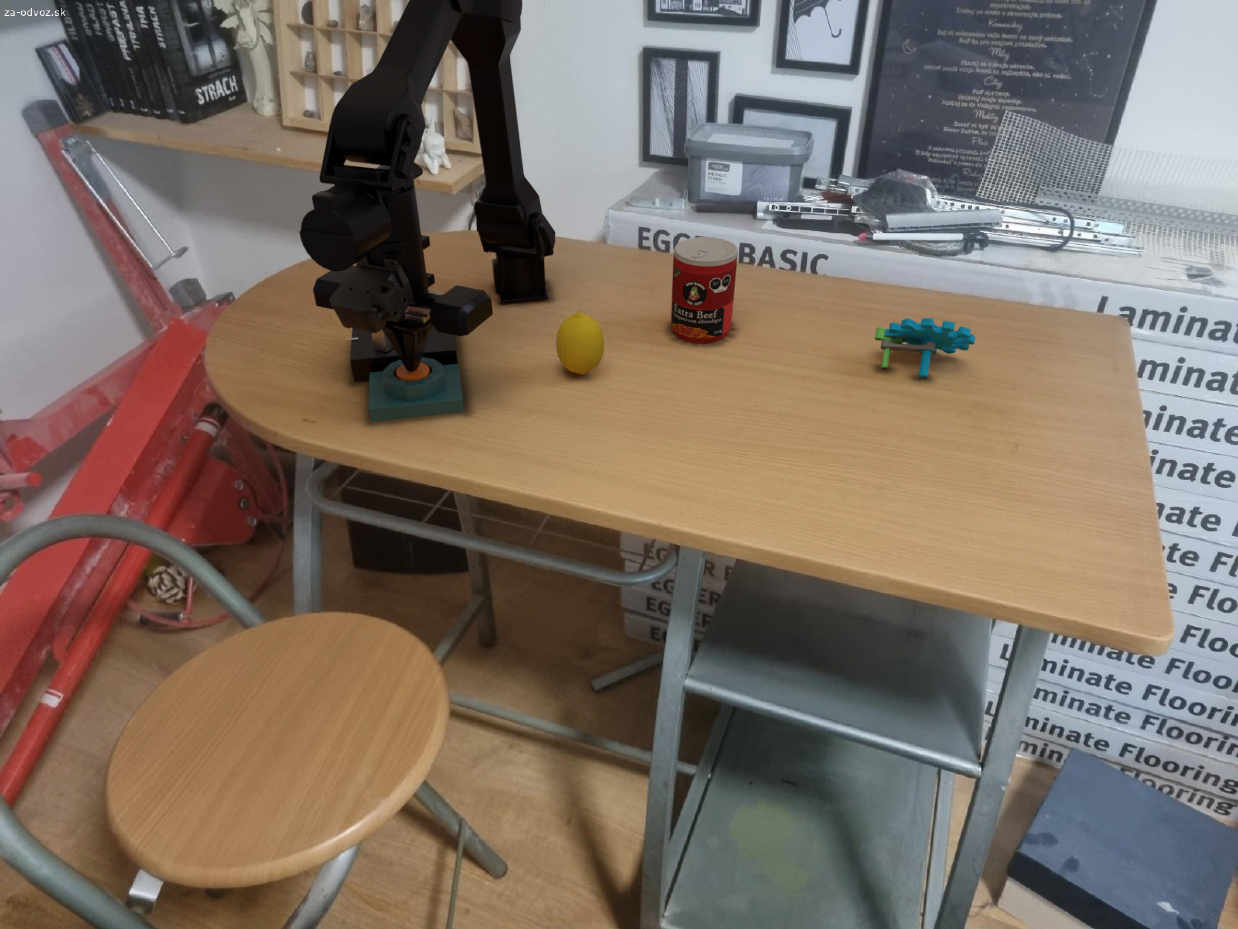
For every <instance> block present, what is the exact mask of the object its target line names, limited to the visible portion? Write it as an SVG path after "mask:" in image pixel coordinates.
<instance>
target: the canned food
mask: <svg viewBox="0 0 1238 929" xmlns="http://www.w3.org/2000/svg"><path fill="white" fill-rule="evenodd" d="M673 249H674V250H673V260H672V280H671V281H672V282H671V309H670V310H671V311H670V327H671V331H672V333H673V335H674V336H676V337H677V338H678V339H680V340H682V341H684V342H688V343H691V344H692V343H693V344H711V343H716V342H718V341H722V339H724V338H726V337H727V336H728V335H729V333H730V330H731V328H732V322H733V320H732V319H733V311H734V300H735V289H736V278H737V267H738V255H739V254H738V247H737V245H735V244H734V243H733V242H731V241H728V240H726V239H723V238H718V237H710V236H698V237H691V238H687V239H684V240H682V241H679V242H678V243H677V244H675V246H674V248H673Z"/></svg>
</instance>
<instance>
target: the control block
mask: <svg viewBox="0 0 1238 929" xmlns="http://www.w3.org/2000/svg"><path fill="white" fill-rule="evenodd" d="M420 363H424V364H426V365H428V367H429V370H430V375H429V376H428V377H426V378H423V379H420V380H415V381H403V380H399V379H398V378H397V375H396V370H397V368H398V367H400V366H401V365H403V363H402V361H401V360H398V361H396V362H393V363H391V364H390V365H388V366H387V367H386V368H385V369H384V370H383V371H381V372H371V373H370V378H369V381H368V382H369V383H368V386H369V387H368V409H367V410H368V414H369V415H368V416H369V418H370V422H371V423H373V422H383V421H392V420H402V419H410V418H418V417H419V418H421V417H428V416H429V417H430V416H438V415H447V414H456V413H457V414H458V413H464V412H465V406H464V397H463V390H462V382H461V376H460V374H461V373H460V367H459V363H458V364H452V365H442V364H440V363H439V362H437V361H436V360H434V359H430V358H425V357H422V358H421V361H420Z"/></svg>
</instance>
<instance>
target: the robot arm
mask: <svg viewBox="0 0 1238 929" xmlns="http://www.w3.org/2000/svg"><path fill="white" fill-rule="evenodd" d="M522 14H523V0H408V2H407V3H406V6H405V8H404V10H403V12H402V13H401V16H400V17H399V20H398V22H397V24H396V26H395V28H394V30H393V32H392V34H391V36H390V38H389V40H388V42H387V43H386V46H385V48H384V50H383V52H382V54H381V56H380V58H379V60H378V62H377V64H376V66H375V67H374V69H373V70H372V71H371V72H370V73H368V74H366V75H364V76H363V77H361V78H359V79H358V80H355V82H353V83H351V84H350V86H348V88H347V89H346V91H345V92H344V93H343V95H342V96H341V98H340V99H338V100H339V101H337V103H336V104H335V106H334V108H333V111H332V114H331V118H330V121H329V127H328V130H327V136H326V142H325V147H324V152H323V156H322V163H321V168H320V173H319V177H318V178H319V182H320V184H325V185H327V184H328V185H333V186H332V187H330V188H328V189H325V190H319V191H317V192H316V193H314V194H312V196H311V201H312V205H313V209H311V210H310V211H308V212H307V213H306V214H305V215H304V216H303V218H302V220H301V223H300V230H299V238H300V241H301V244H302V247H303V248H304V250H305V252H306V253H307V255H308V256H309V257H310V259H311V260H312V261H313V262H315V263H316V265H318V266H320V267H322V268H323V269H325V270H328V272H326V273H324V274H322V275H321V276H319V277H317V278H316V280H315V281H314V284H313V287H312V292H313V297H314V301H315V305H316V307H319V308H324V309H328V310H333V311H334V312H335V315H336V317H337V318H338V320H339V322H340V324H341V325H342V327H344V328H345V329H352V328H355V329H360V330H364V331H366V332H368V333H377V332H379V331H381V330H382V331H383V332H384V334H385V335H386V336H387V338H388V339H389V341H390V342H391V344H392V345H393V348H394V349H395V351H396V353H397V354H398V356H399V358H400V360H401V361H402V363H403V365H404V366H405V368H406V370H407V371H411V372H414V371H415V370H417V369H418V367H419V364H420V361H421V358H422V355H423V352H424V349H425V346H426V343H427V340H428V337H429V334H430V332H431V329H432V327H434V328H435V329H436V330H437V331H438V332H442V333H446V334H451V335H454V336H457V337H465V336H468V335H470V334H471V333H472V332H473V331H475V330H476V329H477V328H478V327H479V326H481V325H482V324H483V323H485V321H487V320H488V319H490V318H491V317H492V316H493V315H494V310H493V309H494V308H493V300H492V298H491V295H490V294H489V293H487V291H486V290H485V289H480V288H473V287H469V286H463V285H457V284H456V285H454V286H452V287H451V288H450V289H449V290H447V291H446V292H445V293H443V292H442V291H437V290H432V289H429V288H430V287H432V286H433V285H435V284H436V281H435V280H436V278H435V274H434V273H430V272H427V267H426V260H425V253H424V250H426V249H428V248H429V247H431V240H430V236H429V235H424V234H422V229H421V223H420V216H419V208H418V200H417V193H416V186H415V180H416V179H417V178H419V177H421V176H422V175H424V174H423V173H424V169H423V167H422V166H420V165H419V164H417V163H416V162H415V161H416V159H417V156H418V154H419V151H420V148H421V145H422V142H423V137H424V133H425V129H426V127H427V123H426V119H425V115H424V112H423V107H422V105H423V102H424V100H425V95H426V93H427V91H428V89H429V87H430V84H431V83H432V81H433V78H434V77H435V74H436V72H437V69H438V67H439V65H440V63H441V61H442V59H443V57H444V54H445V52H446V50H447V48H448V47H449V44H450V42H451V43H452V44H453V45H454V47H455V48H456V49H457V51H458V53H460V55H461V56H462V58H463V59H464V61H465V62H466V64H467V68H468V75H469V82H470V88H471V94H472V100H473V107H474V108H473V109H474V115H475V120H476V121H475V122H476V127H477V133H478V135H477V136H478V140H479V147H480V153H481V154H480V155H481V161H482V168H483V173H484V180H485V185H484V187H483V189H482V192H481V194H480V195H479V198H478V199H477V201H475V203H474V206H473V211H474V215H475V219H476V220H475V223H476V224H475V225H476V232H477V233H478V237H479V240H480V243H481V247H482V251H483V253H494V254H495V258H492V260H491V266H492V278H493V279H492V280H493V289H494V292H495V294H496V295H498V297H499V299H500V300H499V301H500V303H501V304H513V303H514V304H515V303H523V302H534V301H545V300H548V299H549V293H548V290H547V287H546V286H547V285H546V267H545V257H550V256H551V257H552V256H553V255H554V254H555V253H554V249H555V244H556V231H555V229H554V228H553V226H552V225H551V223H550V222H549V221H548V219H547V217H546V216H545V214H543V213H544V212H543V209H542V204H541V199H540V198H541V197H540V195H539V193H538V192H537V190H535V188H534V187H533V185H532V184H531V182H529V180H528V179H527V177H526V176H525V172H524V163H523V155H522V147H521V136H520V130H519V122H518V113H517V105H516V95H515V88H514V80H513V71H512V62H511V55H512V52H513V49H514V47H515V46H516V42H517V40H518V38H519V35H520V33H521V30H522V20H521V18H522V17H521V16H522ZM346 161H347V162H348V161H349V162H350V163H357V164H367V165H374V166H376V165H377V167H368V166H358V165H351V164H350V165H349V164H346Z"/></svg>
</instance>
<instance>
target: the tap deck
mask: <svg viewBox="0 0 1238 929" xmlns="http://www.w3.org/2000/svg"><path fill="white" fill-rule="evenodd" d="M455 336H456V335H451V334H446V333H442V332H438V331H437V330H436V329H435V328H434V327H432V329H431V332H430V334H429V337H428V340H427V343H426V346H425V349H424V352H423V355H422V357H425V358H430V359H434V360H436V361H437V362H439V363H440V364H442V365H452V364H458V365H459V360H458V352H457V344H456V337H455ZM345 341H346V342H350V353H349V362H350V367H351V373H352V378H353V382H354V383H361V382H369V378H370V373H371V372H381V371H383V370H384V369H385V368H386V367H387V366H388V365H390V364H391V363H393V362H396V361H398V360H400V358H399V356H398V354H397V353H396V351H395V349H394V348H392V349H391V350H390V351H388V352H383V351H378V350H374V345H373V339H372V334H371V333H368V332H366V331H364V330H360V329H355V328H351V337H348V338H345Z"/></svg>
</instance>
